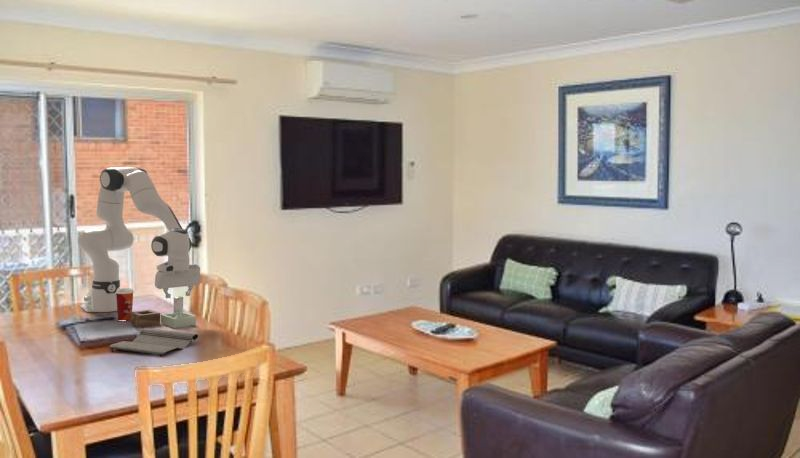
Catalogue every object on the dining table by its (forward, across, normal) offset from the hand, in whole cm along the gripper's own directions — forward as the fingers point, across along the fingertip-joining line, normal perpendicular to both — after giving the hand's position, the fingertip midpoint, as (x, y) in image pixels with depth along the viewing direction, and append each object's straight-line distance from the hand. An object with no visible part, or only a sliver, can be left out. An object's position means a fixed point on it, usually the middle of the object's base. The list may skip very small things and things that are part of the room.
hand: (178, 296), depth 291 cm
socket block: (+12, +10, -9) cm, 18 cm away
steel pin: (+11, 0, 0) cm, 11 cm away
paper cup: (+13, +14, -21) cm, 28 cm away
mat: (+12, +26, +30) cm, 42 cm away
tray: (+12, 0, 0) cm, 12 cm away
